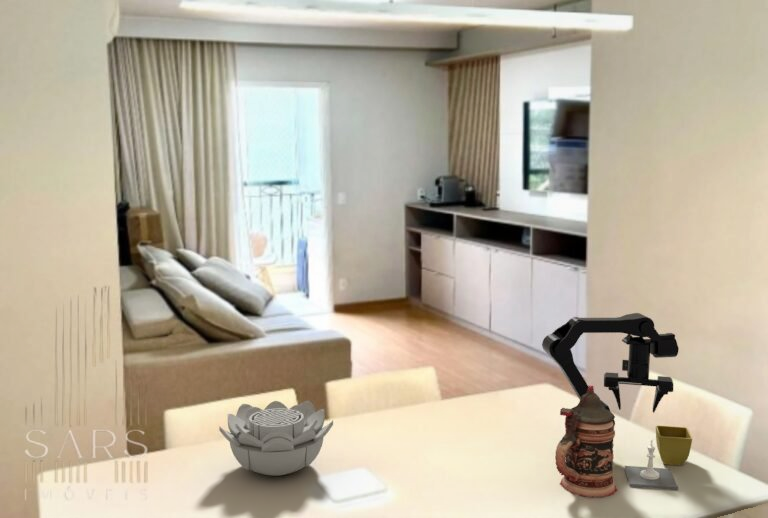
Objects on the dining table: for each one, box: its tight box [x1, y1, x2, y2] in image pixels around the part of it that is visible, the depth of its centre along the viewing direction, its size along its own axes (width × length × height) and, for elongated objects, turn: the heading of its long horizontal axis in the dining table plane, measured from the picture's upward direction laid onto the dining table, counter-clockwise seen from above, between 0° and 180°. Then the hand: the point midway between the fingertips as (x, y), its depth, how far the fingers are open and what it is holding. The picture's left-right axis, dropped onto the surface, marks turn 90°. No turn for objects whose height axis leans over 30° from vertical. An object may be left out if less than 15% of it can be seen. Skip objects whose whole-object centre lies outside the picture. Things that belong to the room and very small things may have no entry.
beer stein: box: [554, 385, 618, 498], centre depth 209 cm, size 17×28×18 cm
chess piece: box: [640, 439, 660, 480], centre depth 214 cm, size 5×5×10 cm
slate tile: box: [624, 465, 679, 491], centre depth 215 cm, size 12×12×1 cm
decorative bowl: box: [218, 400, 334, 476], centre depth 221 cm, size 30×30×15 cm
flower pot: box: [655, 425, 693, 466], centre depth 225 cm, size 9×9×9 cm
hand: (636, 410), depth 230 cm, fingers open, 9 cm apart
